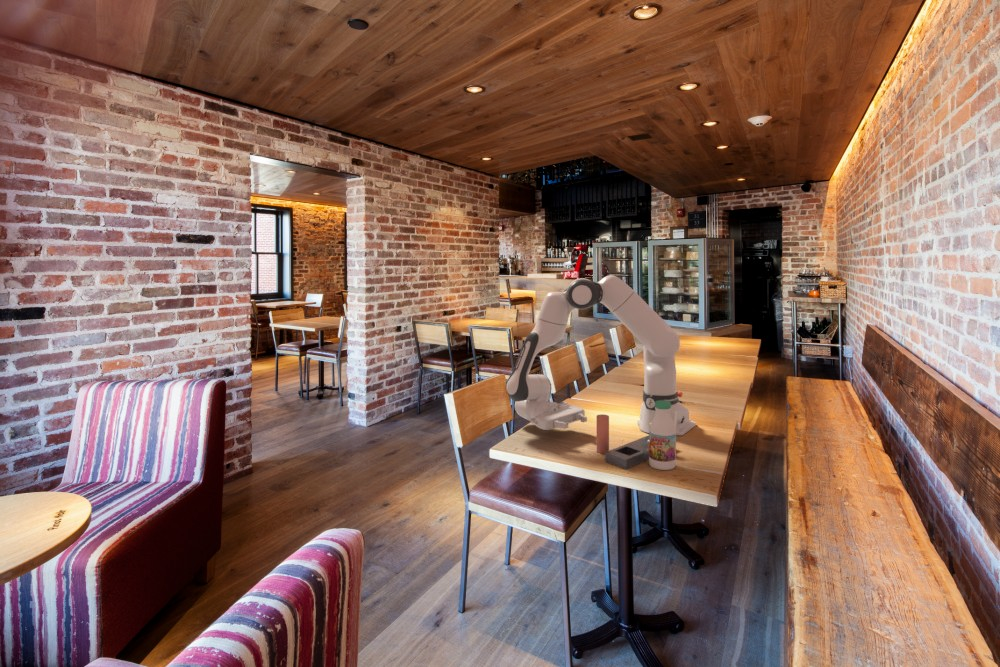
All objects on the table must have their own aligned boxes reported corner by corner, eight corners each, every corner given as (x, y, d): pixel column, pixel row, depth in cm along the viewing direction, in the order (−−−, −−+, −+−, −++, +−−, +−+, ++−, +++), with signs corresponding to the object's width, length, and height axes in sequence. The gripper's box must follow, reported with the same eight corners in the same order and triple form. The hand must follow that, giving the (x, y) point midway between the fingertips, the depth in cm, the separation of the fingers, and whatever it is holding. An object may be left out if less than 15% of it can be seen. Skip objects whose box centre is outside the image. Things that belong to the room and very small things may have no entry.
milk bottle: (648, 459, 154) (649, 397, 151) (674, 461, 152) (675, 399, 149) (648, 469, 146) (649, 404, 144) (676, 472, 144) (677, 406, 142)
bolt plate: (652, 442, 169) (652, 416, 167) (673, 448, 162) (673, 422, 161) (605, 461, 153) (605, 433, 152) (626, 469, 147) (626, 440, 146)
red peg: (602, 448, 165) (601, 413, 163) (611, 451, 161) (611, 416, 160) (594, 451, 162) (593, 416, 160) (603, 454, 159) (603, 419, 157)
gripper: (527, 411, 174) (554, 420, 163) (567, 400, 186) (595, 408, 176) (527, 428, 175) (555, 438, 164) (567, 416, 187) (595, 425, 177)
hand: (576, 422), depth 170 cm, fingers open, 8 cm apart
